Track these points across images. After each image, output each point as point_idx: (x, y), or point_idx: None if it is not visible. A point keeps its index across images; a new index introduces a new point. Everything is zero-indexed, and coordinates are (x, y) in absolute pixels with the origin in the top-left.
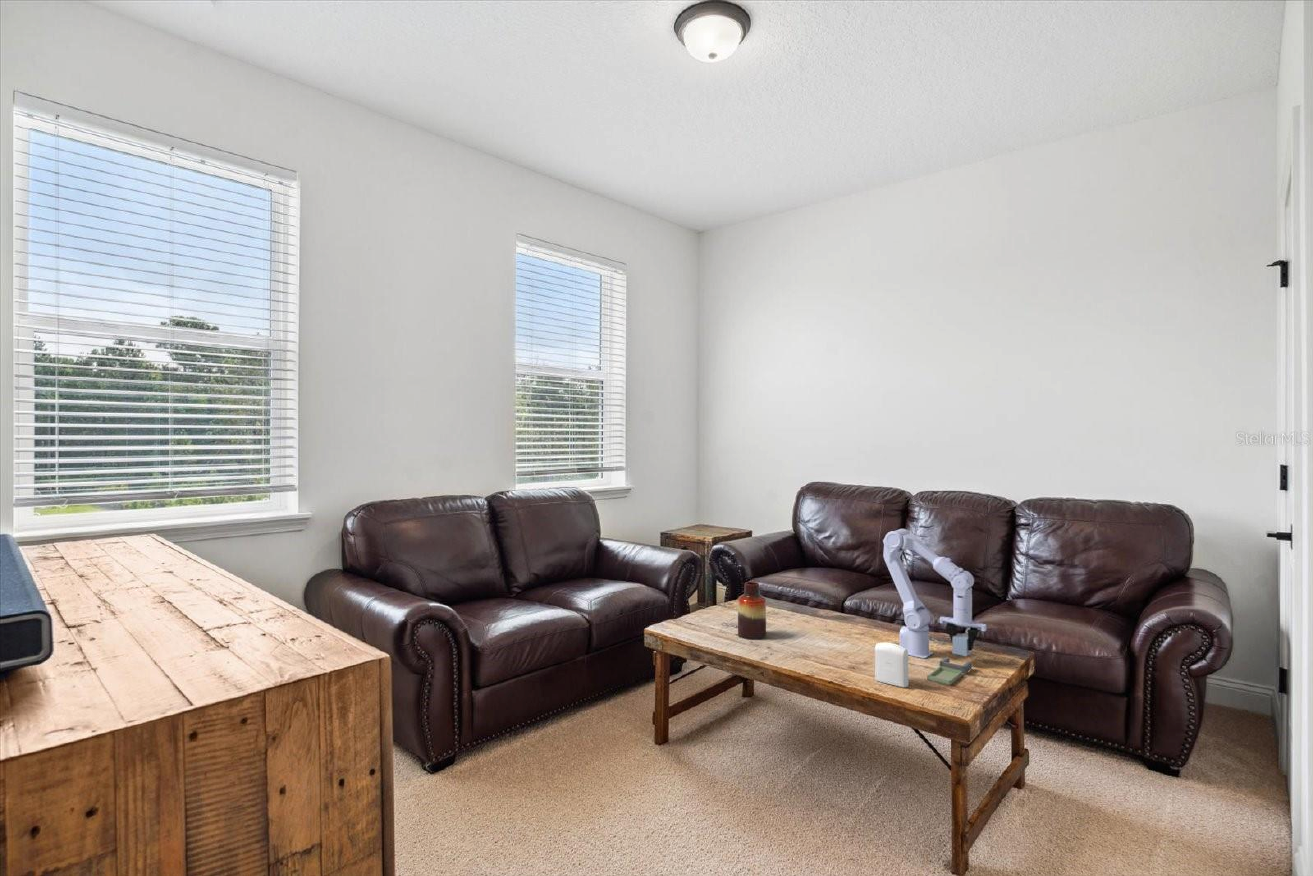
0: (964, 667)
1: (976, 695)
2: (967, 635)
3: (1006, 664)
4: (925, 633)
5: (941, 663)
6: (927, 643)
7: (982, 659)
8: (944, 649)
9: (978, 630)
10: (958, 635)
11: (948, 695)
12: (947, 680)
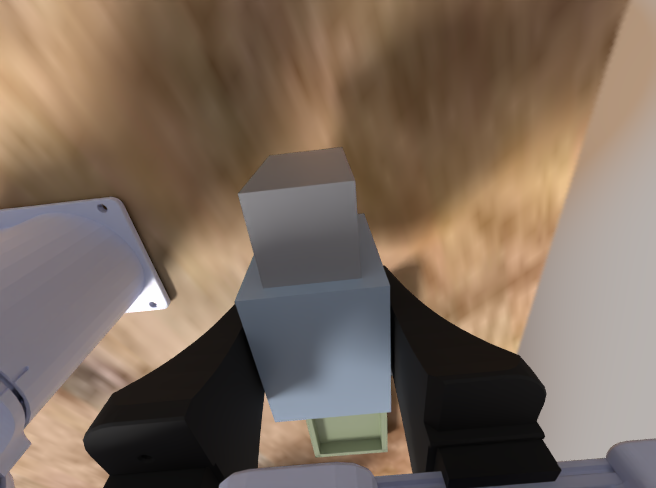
0: (392, 374)
1: None
2: (344, 307)
3: (547, 29)
4: (41, 396)
5: None
6: (99, 314)
7: (380, 52)
8: (72, 29)
9: (531, 429)
10: (282, 363)
11: (403, 470)
12: (378, 452)
